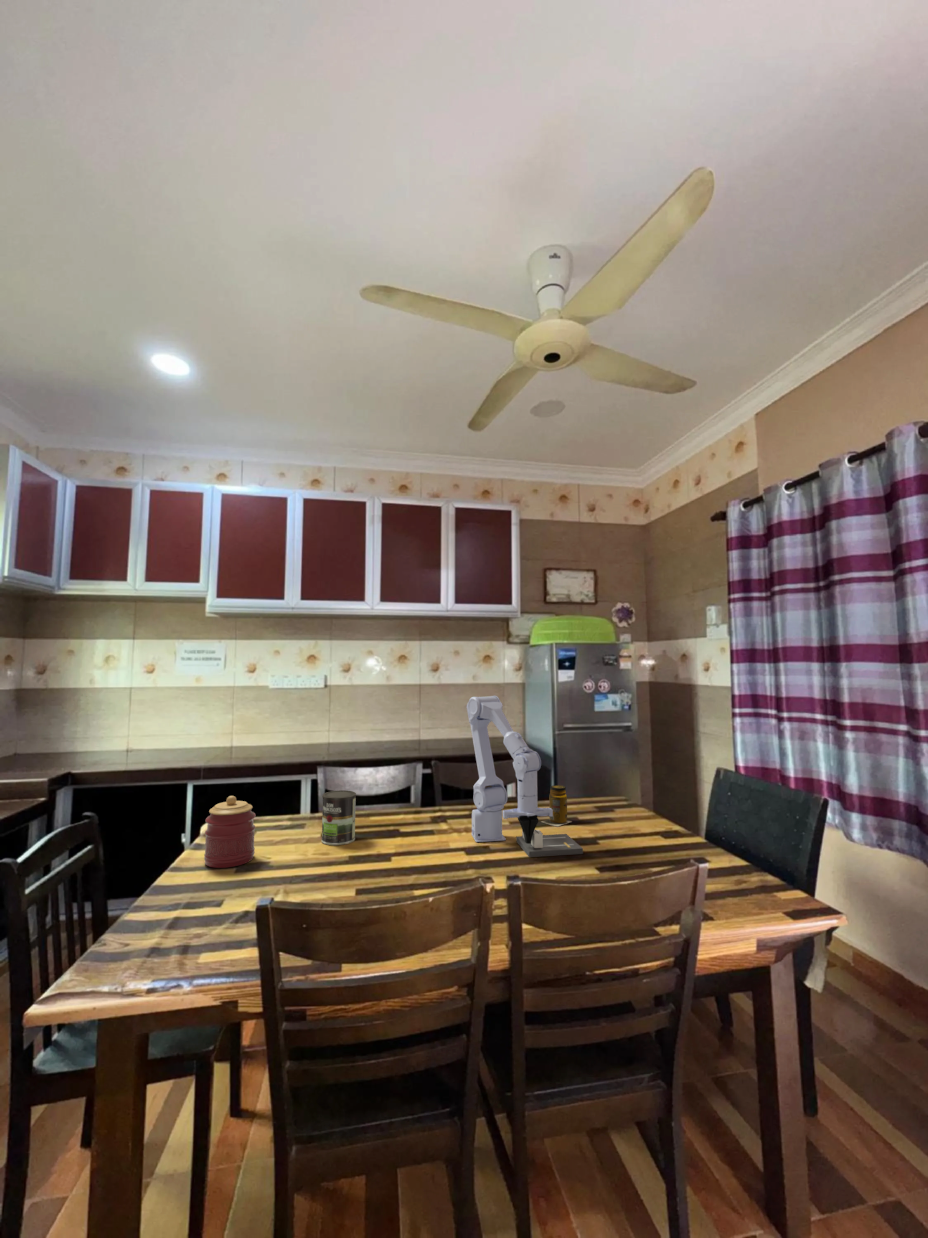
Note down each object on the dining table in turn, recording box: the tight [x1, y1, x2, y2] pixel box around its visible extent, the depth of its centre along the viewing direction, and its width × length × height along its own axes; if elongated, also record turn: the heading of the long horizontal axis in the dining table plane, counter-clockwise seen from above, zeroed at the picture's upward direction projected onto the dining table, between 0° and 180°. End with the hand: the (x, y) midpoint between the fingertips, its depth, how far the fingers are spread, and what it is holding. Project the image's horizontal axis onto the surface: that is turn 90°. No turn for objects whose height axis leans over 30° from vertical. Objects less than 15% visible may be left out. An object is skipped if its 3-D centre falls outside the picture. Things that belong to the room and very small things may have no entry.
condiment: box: [540, 784, 573, 827], centre depth 192 cm, size 7×8×12 cm
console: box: [515, 833, 584, 858], centre depth 165 cm, size 16×14×2 cm
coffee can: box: [321, 790, 357, 846], centre depth 173 cm, size 10×10×14 cm
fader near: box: [531, 829, 544, 848], centre depth 161 cm, size 2×4×4 cm
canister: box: [203, 795, 256, 869], centre depth 155 cm, size 13×13×18 cm
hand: (528, 842), depth 160 cm, fingers closed
